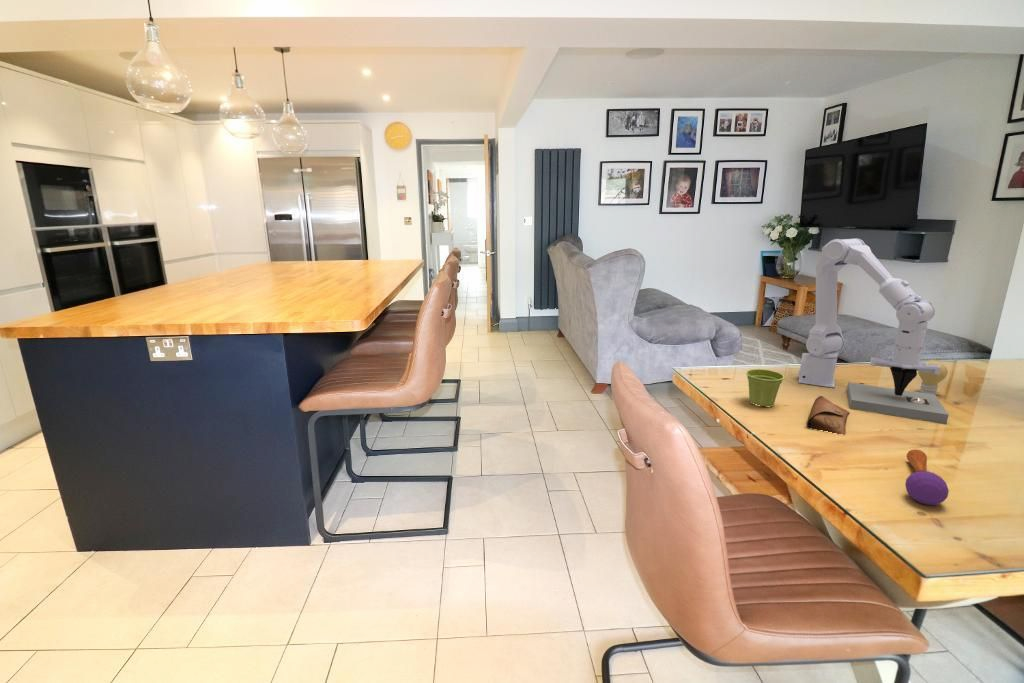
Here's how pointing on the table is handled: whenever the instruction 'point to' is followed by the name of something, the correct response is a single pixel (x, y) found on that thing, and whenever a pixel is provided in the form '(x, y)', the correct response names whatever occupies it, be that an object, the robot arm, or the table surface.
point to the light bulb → (932, 378)
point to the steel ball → (917, 400)
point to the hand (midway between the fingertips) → (898, 394)
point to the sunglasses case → (827, 416)
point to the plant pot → (763, 386)
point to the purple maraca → (924, 481)
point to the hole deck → (895, 403)
